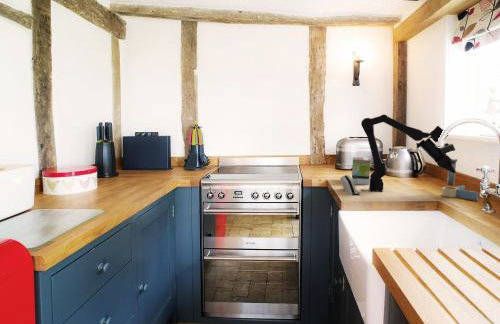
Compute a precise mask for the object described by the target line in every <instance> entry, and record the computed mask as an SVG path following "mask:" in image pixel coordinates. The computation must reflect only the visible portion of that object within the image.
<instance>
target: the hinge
mask: <svg viewBox="0 0 500 324" xmlns="http://www.w3.org/2000/svg"><path fill="white" fill-rule="evenodd" d="M340 181H341V185H342V187H343V190H344V191H345V192H346V193H347V194H349V196H353V195H354V194H355V195H356V194H357V195H358V196H361V193H360V191H359V190H357V188H356V184H354V182H353V180H352V176H350V175H349V174H346V175H343V176H341V177H340Z"/></svg>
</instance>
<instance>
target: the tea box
mask: <svg viewBox="0 0 500 324" xmlns="http://www.w3.org/2000/svg"><path fill="white" fill-rule="evenodd" d="M351 165H352V166H351V167H352V168H351V178H352V180H353V182H354V185H363V186H364V185H365V186H369V182H370V175H371V174H370V173H371V159H370V157H364V156H363V157H358V156H357V157H356V156H354V157H352V164H351Z"/></svg>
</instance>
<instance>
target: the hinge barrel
mask: <svg viewBox="0 0 500 324" xmlns="http://www.w3.org/2000/svg"><path fill="white" fill-rule="evenodd" d="M442 195H443V196H442ZM441 196H442V197H445V196H446V197H445V198H454V199H455V198H459V199H464V200H471V201H475V202H477V201H479V192H478V191H474V190H473V191H471V190H466V185H464V184H463V185H458V186H443V187H441Z"/></svg>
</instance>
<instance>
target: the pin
mask: <svg viewBox="0 0 500 324" xmlns="http://www.w3.org/2000/svg"><path fill="white" fill-rule="evenodd" d="M457 162H458V158H451V160H450V164H451V165H452V167H453V168H454V170H455V171H456V168H457V166H456V165H457ZM455 179H456V172H455V173H452V172H450V171H448V170H447V178H446V185H447V186H450V187H455V183H456V181H455Z"/></svg>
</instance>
